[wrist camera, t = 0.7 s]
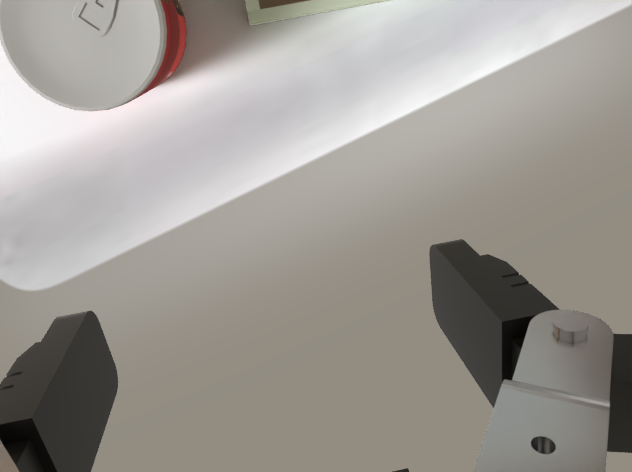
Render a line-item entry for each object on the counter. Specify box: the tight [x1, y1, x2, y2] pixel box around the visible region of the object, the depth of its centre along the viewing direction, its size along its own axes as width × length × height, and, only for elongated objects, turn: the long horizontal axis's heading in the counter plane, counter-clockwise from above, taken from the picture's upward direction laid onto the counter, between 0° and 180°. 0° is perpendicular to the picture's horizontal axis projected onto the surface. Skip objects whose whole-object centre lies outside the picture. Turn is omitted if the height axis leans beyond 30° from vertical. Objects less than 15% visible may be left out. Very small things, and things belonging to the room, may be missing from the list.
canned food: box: [0, 0, 187, 111], centre depth 30 cm, size 8×8×11 cm
